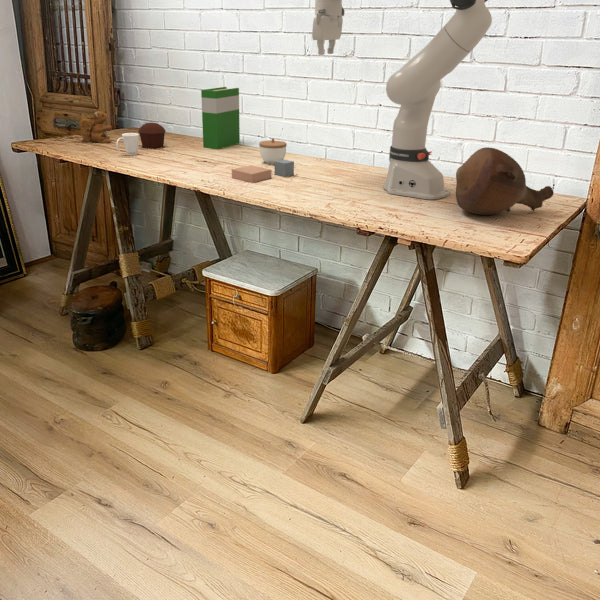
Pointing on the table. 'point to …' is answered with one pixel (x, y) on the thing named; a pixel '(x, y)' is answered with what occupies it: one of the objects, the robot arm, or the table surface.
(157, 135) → the muffin
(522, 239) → the table surface
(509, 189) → the brown bulbous piece
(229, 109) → the hardback book
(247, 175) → the pedestal
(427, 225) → the table surface
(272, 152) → the lidded jar
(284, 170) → the cube
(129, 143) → the cup
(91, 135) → the stuffed squirrel
